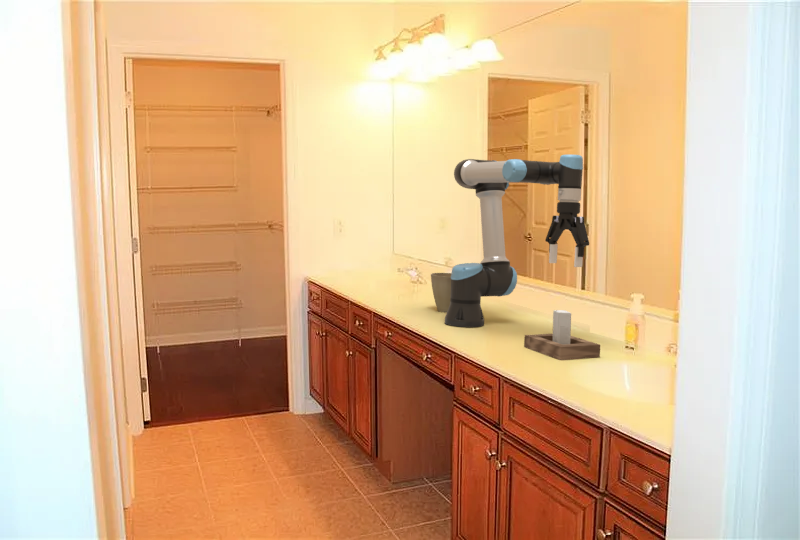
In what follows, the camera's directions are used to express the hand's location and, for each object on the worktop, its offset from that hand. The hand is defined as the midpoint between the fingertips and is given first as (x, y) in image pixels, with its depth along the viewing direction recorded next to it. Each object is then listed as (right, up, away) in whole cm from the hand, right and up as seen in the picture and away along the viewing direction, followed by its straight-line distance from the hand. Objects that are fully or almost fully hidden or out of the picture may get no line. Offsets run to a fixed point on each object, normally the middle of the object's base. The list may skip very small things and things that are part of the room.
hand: (565, 265), depth 222 cm
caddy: (-4, -28, -12) cm, 31 cm away
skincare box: (-4, -27, -12) cm, 30 cm away
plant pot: (-35, -20, +63) cm, 75 cm away
